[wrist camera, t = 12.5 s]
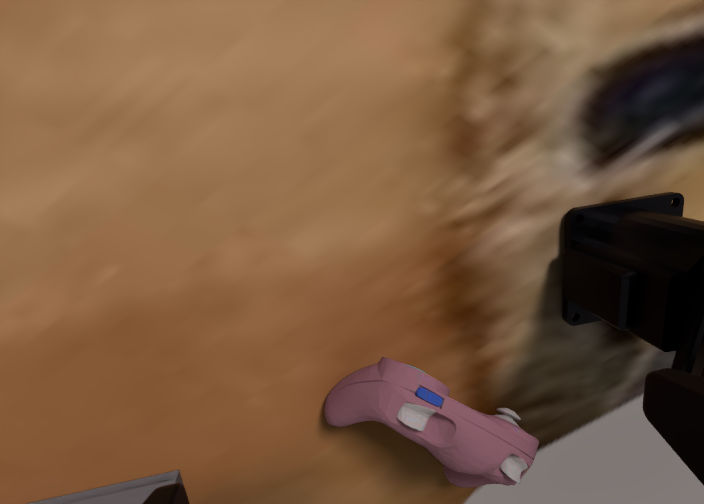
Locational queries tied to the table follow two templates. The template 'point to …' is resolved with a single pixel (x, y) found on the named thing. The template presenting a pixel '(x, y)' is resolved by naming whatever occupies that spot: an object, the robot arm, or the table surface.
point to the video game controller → (435, 423)
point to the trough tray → (118, 491)
